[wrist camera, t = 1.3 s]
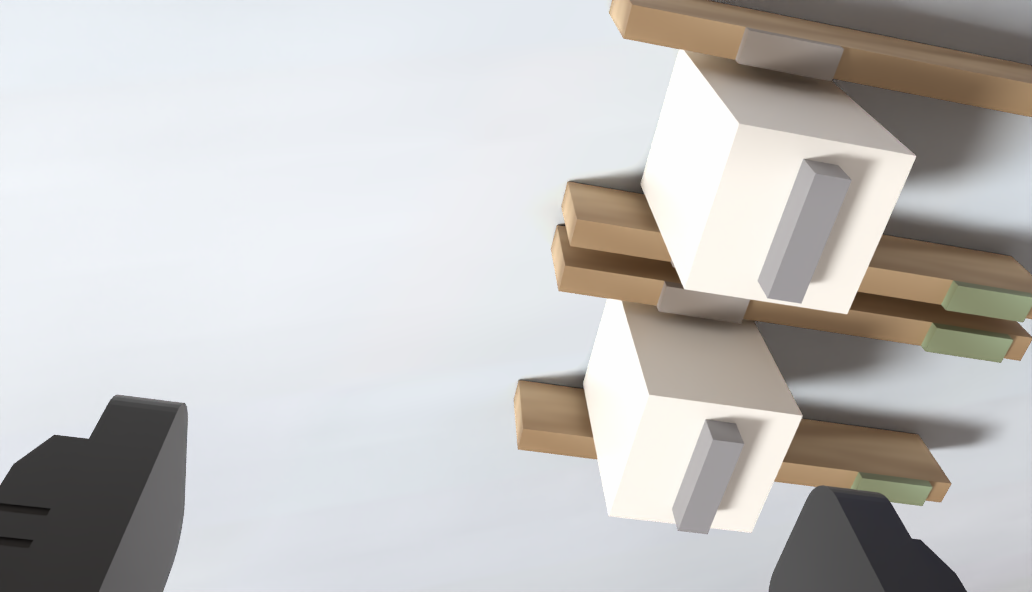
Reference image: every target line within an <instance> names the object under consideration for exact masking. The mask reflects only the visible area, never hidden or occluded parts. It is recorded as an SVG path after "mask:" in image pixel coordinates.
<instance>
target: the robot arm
mask: <svg viewBox="0 0 1032 592" xmlns="http://www.w3.org/2000/svg"><path fill="white" fill-rule="evenodd" d="M187 424H188V413H187V406H186V404H185V403H179V402H171V401H163V400H155V399H147V398H139V397H132V396H124V395H115V396H114V397H113V398H112V399H111V400H110V402H109V403H108V405H107V407H106V409H105V411H104V412H103V414H102V416H101V418H100V420H99V421H98V423H97V425H96V427H95V429H94V431H93V432H92V434H91V436H90V438H89V439H85V438H77V437H68V436H60V435H54V436H52V437H51V438H49V439H48V440H47V441H45V442H44V443H42V444H41V445H40V446H38V447H37V448H35V449H34V450H33V451H31V452H30V453H29V454H27V455H26V456H24V457H23V458H22V459H20V460H19V461H17V462H16V463H15V464H13V466H12V467H11V469H10V471H9V472H8V474H7V475H6V477H5V478H4V480H3V482H2V483H1V485H0V592H163V590H164V587H165V585H166V582H167V579H168V576H169V573H170V571H171V568H172V565H173V562H174V559H175V555H176V552H177V548H178V544H179V539H180V534H181V529H182V523H183V516H184V504H185V478H186V451H187ZM769 592H967V591H966V589H965V588H964V586H963V585H962V583H961V581H960V580H959V578H958V576H957V575H956V573H955V572H954V571H952V570H951V569H950V568H949V567H948V566H947V565H946V564H945V563H944V562H943V561H942V560H941V559H940V558H939V557H938V556H937V555H936V554H935V553H934V552H933V551H932V550H931V549H930V548H929V547H928V546H926V545H925V544H924V543H923V542H922V541H921V540H918V539H912V538H911V537H910V535H909V533H908V532H907V530H906V528H905V526H904V525H903V523H902V521H901V520H900V518H899V516H898V514H897V513H896V511H895V509H894V508H893V506H892V504H891V503H890V501H889V500H888V498H887V497H886V496H884V495H883V494H881V493H878V492H872V491H864V490H856V489H848V488H840V487H832V486H824V485H822V486H818V487H816V488H815V489H813V490H812V492H811V493H810V494H809V496H808V498H807V500H806V502H805V504H804V506H803V508H802V511H801V513H800V515H799V517H798V519H797V522H796V524H795V526H794V528H793V530H792V532H791V535H790V537H789V539H788V541H787V543H786V545H785V548H784V550H783V552H782V554H781V556H780V558H779V561H778V563H777V565H776V567H775V569H774V572H773V574H772V577H771V581H770V586H769Z"/></svg>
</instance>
